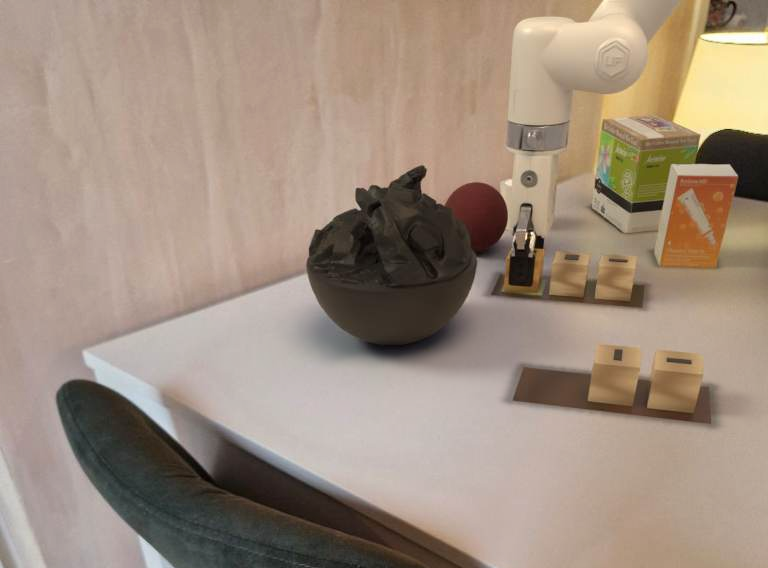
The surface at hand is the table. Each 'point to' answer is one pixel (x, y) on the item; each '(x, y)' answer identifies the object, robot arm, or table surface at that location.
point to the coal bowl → (392, 264)
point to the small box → (695, 214)
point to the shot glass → (506, 196)
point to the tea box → (638, 168)
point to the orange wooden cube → (538, 273)
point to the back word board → (573, 281)
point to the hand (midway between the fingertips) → (525, 272)
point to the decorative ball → (480, 213)
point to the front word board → (578, 393)
